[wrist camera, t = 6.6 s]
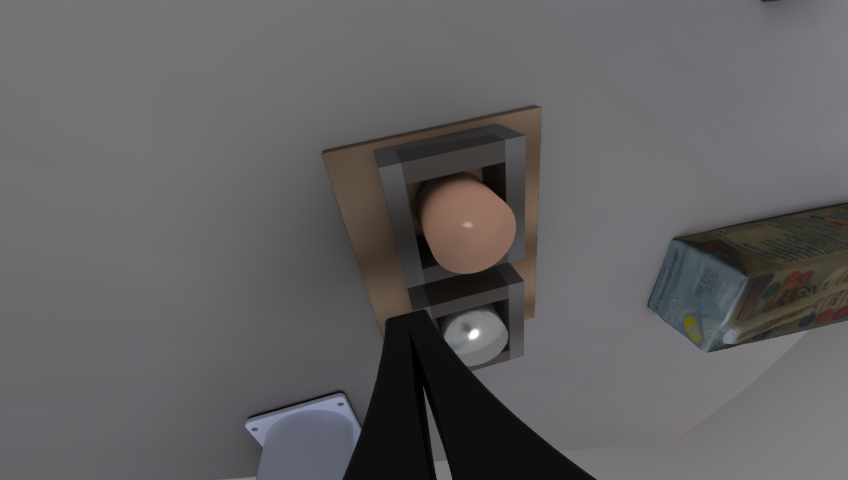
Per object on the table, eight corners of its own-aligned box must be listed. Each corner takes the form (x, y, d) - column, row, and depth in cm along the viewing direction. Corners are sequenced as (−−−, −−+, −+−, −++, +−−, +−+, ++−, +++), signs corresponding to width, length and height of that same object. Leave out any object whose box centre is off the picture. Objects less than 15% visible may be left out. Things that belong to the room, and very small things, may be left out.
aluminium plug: (488, 318, 23) (508, 356, 20) (437, 332, 23) (450, 372, 20) (485, 277, 21) (507, 312, 18) (429, 292, 21) (442, 330, 18)
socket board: (530, 311, 26) (557, 348, 22) (388, 350, 25) (394, 396, 21) (535, 105, 17) (579, 115, 14) (322, 150, 16) (315, 173, 13)
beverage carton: (669, 232, 25) (762, 281, 19) (857, 195, 27) (988, 228, 22) (642, 306, 29) (712, 365, 23) (808, 268, 32) (908, 312, 26)
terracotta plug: (489, 229, 18) (516, 262, 15) (422, 245, 18) (437, 282, 15) (484, 162, 16) (515, 185, 13) (409, 179, 16) (423, 206, 13)
